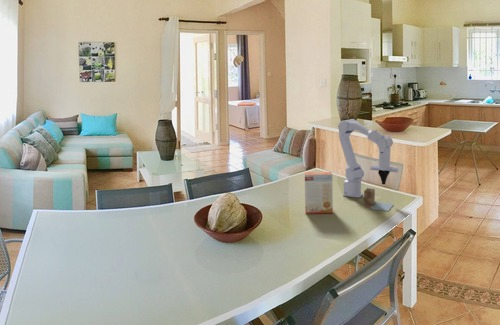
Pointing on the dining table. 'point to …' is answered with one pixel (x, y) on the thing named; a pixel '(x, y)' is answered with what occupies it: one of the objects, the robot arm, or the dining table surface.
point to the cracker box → (318, 192)
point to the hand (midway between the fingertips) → (383, 184)
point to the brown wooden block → (369, 197)
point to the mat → (382, 206)
